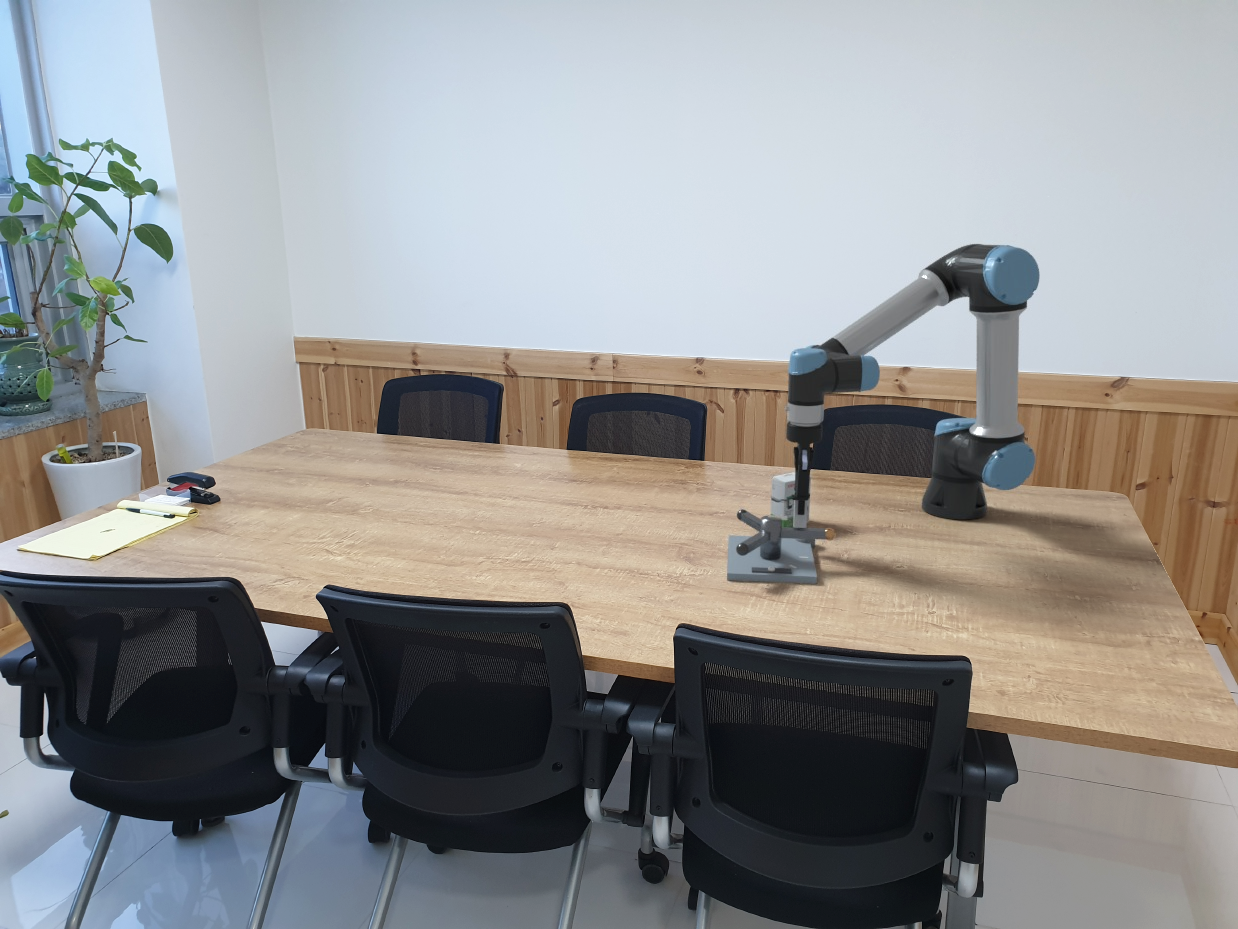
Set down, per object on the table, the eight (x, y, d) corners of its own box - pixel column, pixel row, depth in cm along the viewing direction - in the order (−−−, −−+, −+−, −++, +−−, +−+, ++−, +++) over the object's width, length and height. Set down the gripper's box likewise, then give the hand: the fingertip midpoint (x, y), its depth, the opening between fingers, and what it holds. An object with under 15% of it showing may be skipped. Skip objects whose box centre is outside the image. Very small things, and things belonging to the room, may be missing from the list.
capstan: (829, 538, 203) (831, 500, 200) (839, 580, 181) (842, 538, 178) (736, 535, 206) (737, 497, 203) (735, 576, 183) (736, 534, 181)
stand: (814, 542, 205) (814, 531, 204) (822, 583, 183) (823, 572, 182) (728, 539, 208) (728, 528, 207) (726, 580, 186) (727, 568, 185)
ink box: (783, 530, 213) (785, 481, 210) (769, 524, 217) (770, 476, 214) (810, 522, 218) (812, 475, 215) (795, 517, 222) (797, 470, 219)
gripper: (785, 414, 199) (781, 516, 206) (788, 429, 187) (783, 536, 193) (820, 415, 198) (814, 517, 205) (825, 429, 186) (819, 538, 192)
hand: (799, 526), depth 199 cm, fingers closed
